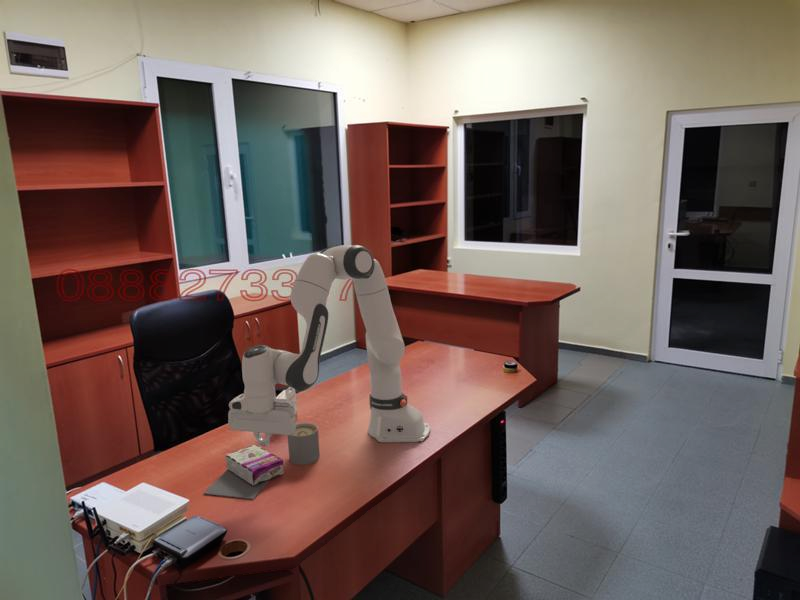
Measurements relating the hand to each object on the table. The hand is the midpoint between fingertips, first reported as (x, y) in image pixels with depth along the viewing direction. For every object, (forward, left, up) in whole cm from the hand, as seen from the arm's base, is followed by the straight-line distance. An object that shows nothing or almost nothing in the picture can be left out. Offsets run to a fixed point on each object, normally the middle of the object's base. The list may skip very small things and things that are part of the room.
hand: (263, 444), depth 167 cm
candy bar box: (0, -2, -10) cm, 10 cm away
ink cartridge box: (+12, -42, -14) cm, 46 cm away
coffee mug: (-5, -20, -14) cm, 25 cm away
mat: (+9, 0, -13) cm, 16 cm away
